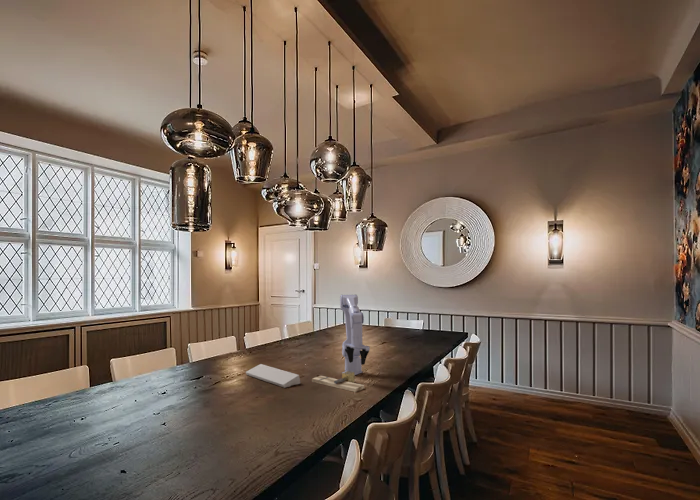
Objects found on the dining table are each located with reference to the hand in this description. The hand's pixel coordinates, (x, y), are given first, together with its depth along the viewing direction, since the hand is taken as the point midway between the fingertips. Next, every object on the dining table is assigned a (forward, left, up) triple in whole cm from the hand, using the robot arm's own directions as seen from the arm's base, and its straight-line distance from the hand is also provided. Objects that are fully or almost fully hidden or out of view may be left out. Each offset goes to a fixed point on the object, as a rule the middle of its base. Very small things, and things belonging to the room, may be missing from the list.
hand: (357, 363), depth 192 cm
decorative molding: (+23, -39, -10) cm, 46 cm away
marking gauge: (+7, -3, -9) cm, 12 cm away
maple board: (+10, -5, -9) cm, 15 cm away
